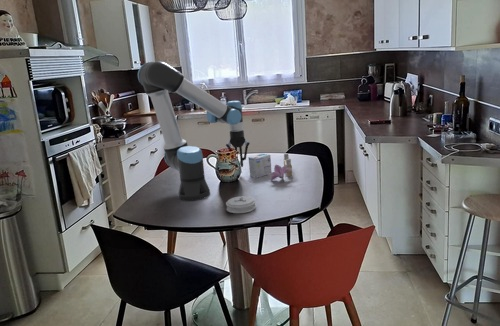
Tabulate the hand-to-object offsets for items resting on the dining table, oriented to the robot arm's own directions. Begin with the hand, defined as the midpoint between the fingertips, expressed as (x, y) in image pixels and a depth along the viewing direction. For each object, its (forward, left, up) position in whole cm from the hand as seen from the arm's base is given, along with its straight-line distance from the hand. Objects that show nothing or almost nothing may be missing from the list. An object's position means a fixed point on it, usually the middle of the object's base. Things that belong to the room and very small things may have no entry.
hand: (240, 172), depth 233 cm
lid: (-53, -1, -2) cm, 53 cm away
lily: (-16, -21, -2) cm, 26 cm away
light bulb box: (0, -11, -2) cm, 11 cm away
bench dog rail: (0, -26, -2) cm, 26 cm away
